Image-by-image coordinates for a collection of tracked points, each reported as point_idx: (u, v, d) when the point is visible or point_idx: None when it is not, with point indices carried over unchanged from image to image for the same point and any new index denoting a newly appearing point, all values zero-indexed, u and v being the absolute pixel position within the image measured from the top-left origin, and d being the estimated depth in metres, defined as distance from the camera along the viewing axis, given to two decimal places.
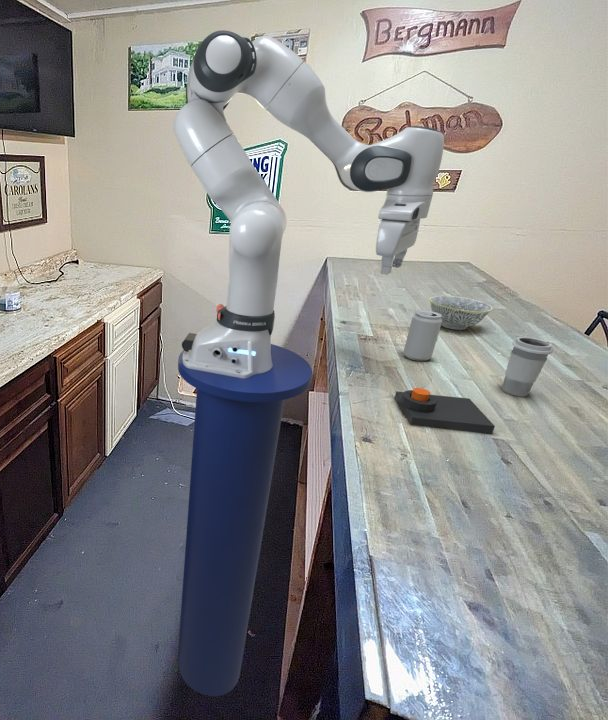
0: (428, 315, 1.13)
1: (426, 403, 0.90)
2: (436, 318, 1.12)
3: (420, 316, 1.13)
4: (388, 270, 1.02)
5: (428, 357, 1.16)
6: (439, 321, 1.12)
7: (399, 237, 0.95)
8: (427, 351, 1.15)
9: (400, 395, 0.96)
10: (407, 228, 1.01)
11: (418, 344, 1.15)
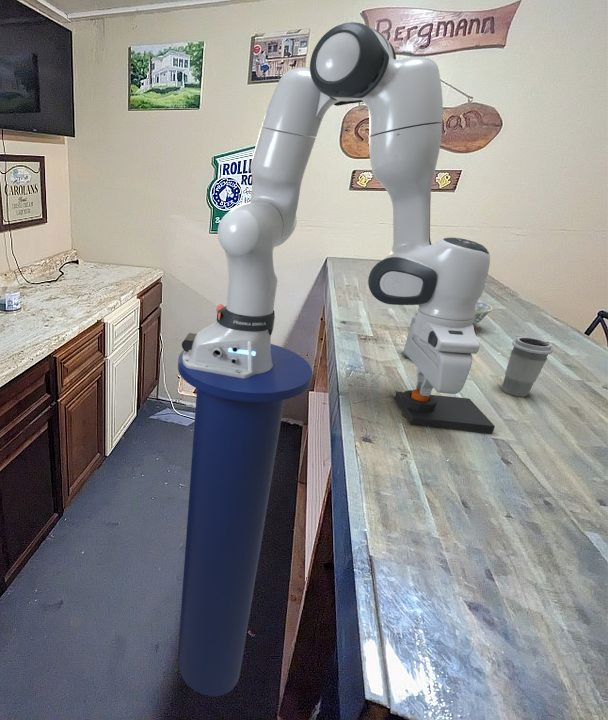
0: None
1: (426, 403, 0.90)
2: None
3: None
4: (429, 391, 0.90)
5: None
6: None
7: (468, 373, 0.79)
8: None
9: (400, 395, 0.96)
10: None
11: None
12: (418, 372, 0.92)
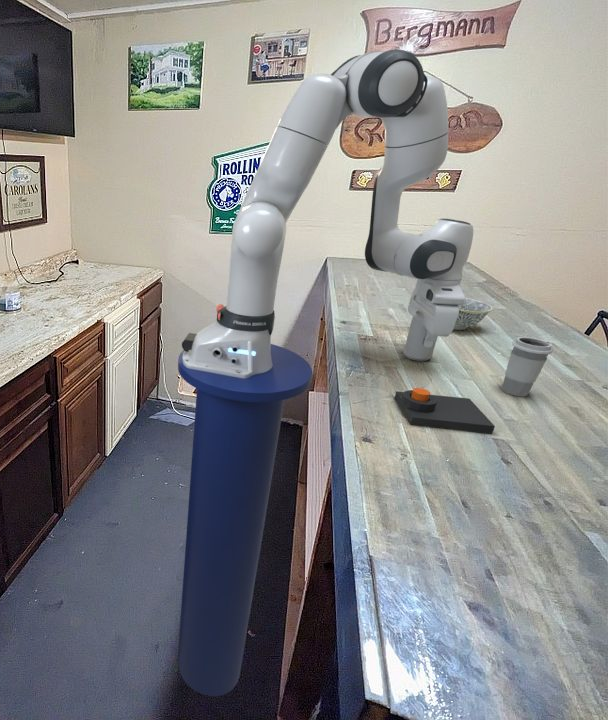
0: None
1: (426, 403, 0.90)
2: None
3: (420, 316, 1.13)
4: (431, 343, 1.12)
5: (428, 357, 1.16)
6: None
7: None
8: (427, 351, 1.15)
9: (400, 395, 0.96)
10: None
11: (418, 344, 1.15)
12: None
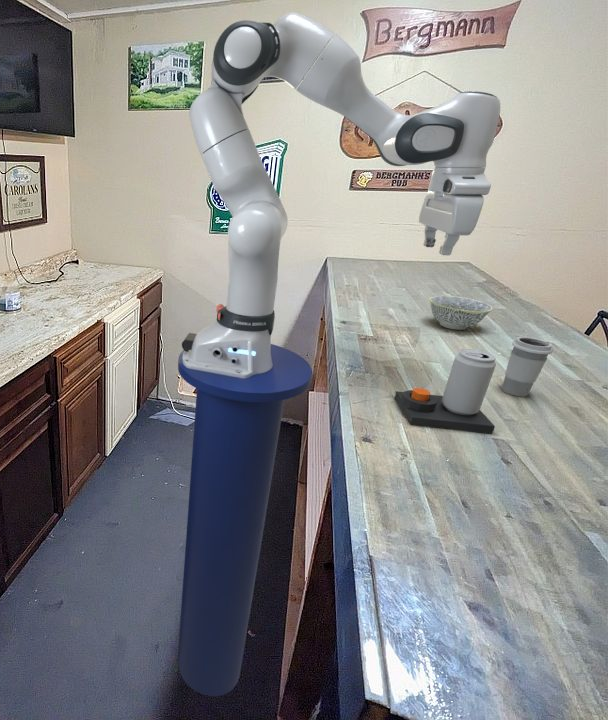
0: (477, 357, 0.85)
1: (426, 403, 0.90)
2: (489, 361, 0.84)
3: (467, 358, 0.86)
4: (450, 250, 0.94)
5: (476, 411, 0.88)
6: (492, 365, 0.84)
7: None
8: (475, 403, 0.87)
9: (400, 395, 0.96)
10: None
11: (464, 394, 0.87)
12: (426, 229, 1.03)
